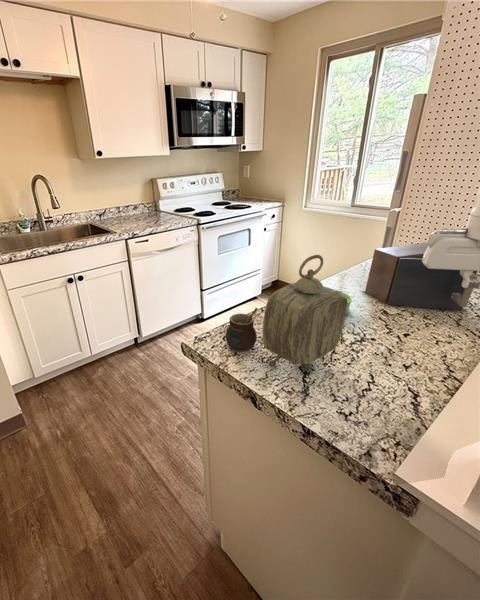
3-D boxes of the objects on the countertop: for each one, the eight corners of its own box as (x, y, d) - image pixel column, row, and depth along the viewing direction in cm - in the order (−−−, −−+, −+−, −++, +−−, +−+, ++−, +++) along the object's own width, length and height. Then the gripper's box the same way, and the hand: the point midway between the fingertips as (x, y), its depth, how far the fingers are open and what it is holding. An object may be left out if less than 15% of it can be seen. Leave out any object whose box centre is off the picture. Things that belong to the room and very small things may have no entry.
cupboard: (437, 296, 90) (453, 249, 84) (385, 303, 89) (397, 256, 83) (412, 286, 97) (425, 242, 91) (364, 292, 96) (374, 248, 90)
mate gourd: (219, 344, 78) (219, 309, 74) (242, 335, 81) (244, 301, 77) (237, 358, 72) (239, 321, 68) (263, 348, 75) (266, 312, 71)
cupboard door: (471, 320, 77) (493, 269, 71) (393, 313, 83) (406, 265, 78) (460, 308, 82) (479, 260, 77) (387, 303, 89) (399, 257, 83)
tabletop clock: (301, 343, 75) (316, 243, 65) (338, 361, 68) (362, 252, 57) (259, 366, 69) (268, 259, 58) (295, 388, 62) (313, 272, 51)
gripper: (437, 231, 68) (419, 288, 74) (572, 233, 60) (540, 297, 66) (427, 225, 74) (411, 279, 79) (551, 225, 65) (522, 285, 71)
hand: (470, 287), depth 73 cm, fingers closed
